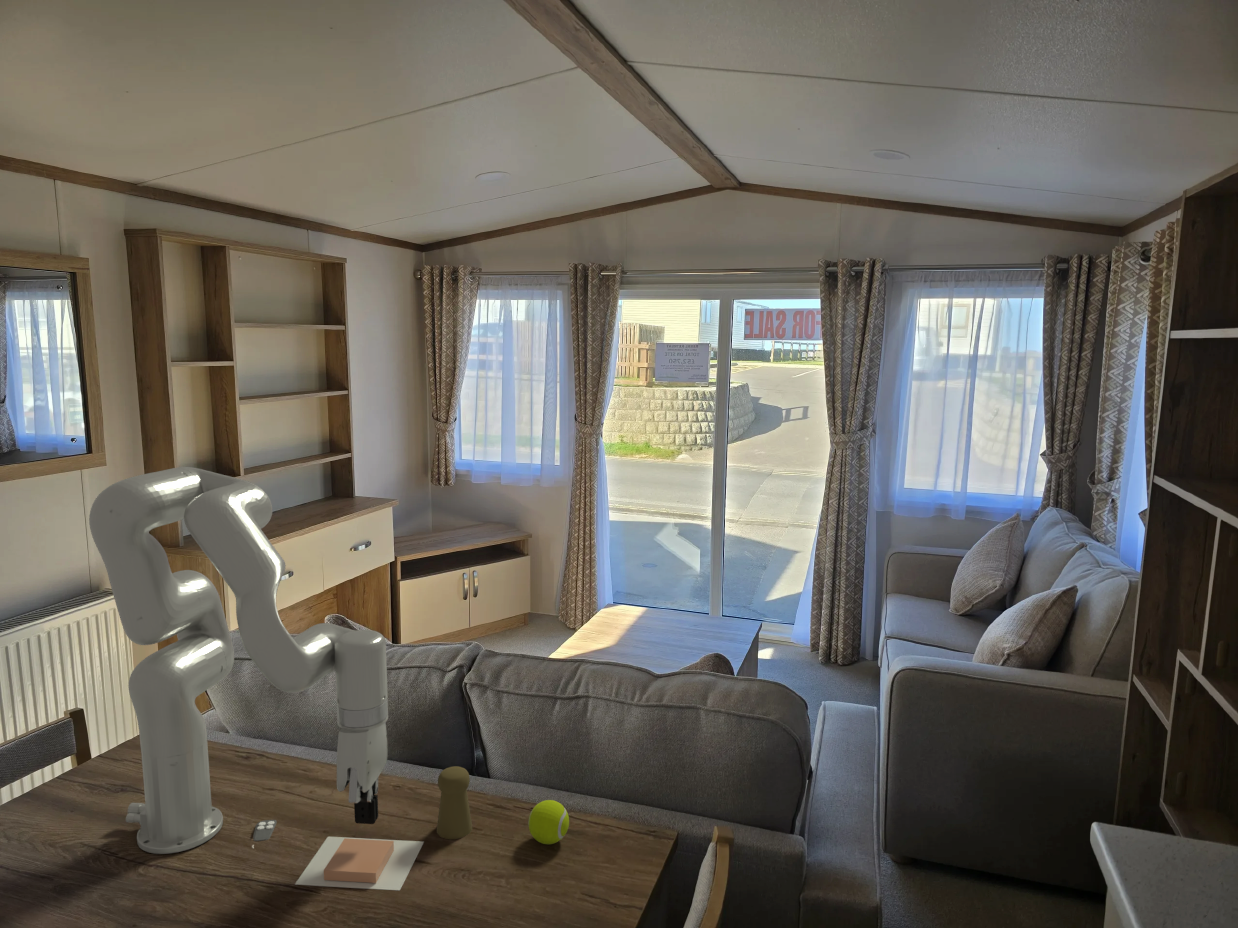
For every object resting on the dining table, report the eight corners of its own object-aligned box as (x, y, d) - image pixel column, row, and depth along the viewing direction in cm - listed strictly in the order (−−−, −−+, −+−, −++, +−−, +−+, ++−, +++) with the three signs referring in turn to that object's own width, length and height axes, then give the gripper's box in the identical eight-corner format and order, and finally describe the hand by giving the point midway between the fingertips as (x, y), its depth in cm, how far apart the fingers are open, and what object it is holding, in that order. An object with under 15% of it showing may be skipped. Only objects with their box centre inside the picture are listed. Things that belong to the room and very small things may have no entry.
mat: (295, 887, 124) (294, 883, 124) (328, 839, 136) (327, 836, 136) (399, 893, 123) (399, 889, 123) (424, 844, 135) (423, 841, 135)
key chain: (255, 827, 140) (255, 819, 140) (279, 825, 141) (278, 817, 140) (238, 875, 127) (237, 867, 127) (264, 873, 128) (263, 864, 128)
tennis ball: (539, 825, 141) (539, 788, 140) (575, 833, 139) (575, 796, 138) (521, 847, 135) (520, 809, 134) (558, 856, 132) (558, 818, 131)
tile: (344, 848, 133) (324, 880, 125) (344, 838, 133) (323, 869, 125) (393, 850, 132) (376, 883, 124) (393, 840, 132) (375, 872, 124)
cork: (464, 844, 135) (463, 782, 133) (430, 839, 136) (428, 777, 135) (478, 823, 141) (477, 763, 139) (445, 819, 142) (443, 759, 140)
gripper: (356, 689, 136) (360, 793, 139) (318, 732, 121) (324, 848, 124) (402, 691, 135) (404, 795, 138) (369, 735, 121) (373, 850, 123)
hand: (366, 820), depth 131 cm, fingers closed
